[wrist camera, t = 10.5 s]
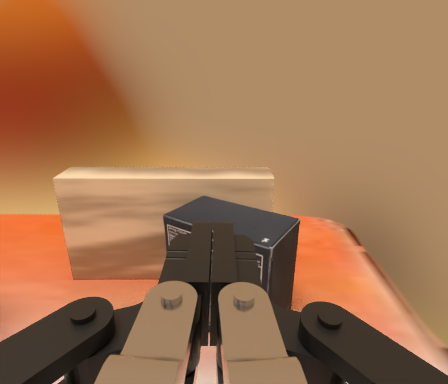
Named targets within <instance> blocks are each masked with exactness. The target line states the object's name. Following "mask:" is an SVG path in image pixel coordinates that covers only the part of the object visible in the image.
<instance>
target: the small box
mask: <svg viewBox="0 0 448 384" xmlns="http://www.w3.org/2000/svg"><path fill="white" fill-rule="evenodd" d="M193 221H206V222H212V252H213V228H214V222H233V230H234V235H247V236H248V237H249V238H250V239H251V240H252V242H253V243H254V247H255V253H256V257H257V262H258V268H259V273H260V278H261V283H262V289H263V290H264V291H265V292H266V293H267V294H268V296H269V299H270V301H272V302H273V303H275V304H276V305H278V306H280V307H283V308H286V309H289V310H291V302H292V292H293V282H294V272H295V262H296V252H297V244H298V233H299V224H300V219H298V218H294V217H290V216H286V215H281V214H277V213H273V212H269V211H265V210H261V209H257V208H253V207H248V206H244V205H240V204H236V203H232V202H228V201H224V200H220V199H216V198H212V197H208V196H201V197H199V198H197V199H195V200H193V201H191V202H189V203H187V204H185V205H183V206H181V207H179V208H177V209H174V210H172V211H170V212H168V213H166V214H164V215H163V222H164V227H165V238H166V252H168V248H169V244H170V241H171V240H172V239H173V238H174V237H175V236H176V235H178V234H191V229H192V223H193ZM166 255H167V253H166ZM211 275H212V258H211ZM210 320H211V285H210V307H209V329H208V331H210Z"/></svg>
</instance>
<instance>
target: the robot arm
mask: <svg viewBox="0 0 448 384" xmlns="http://www.w3.org/2000/svg"><path fill="white" fill-rule="evenodd" d="M211 258H212V275H211ZM210 285H211V320H210V346H217V350H216V380H217V384H347V383H348V384H448V376H447V375H446V374H444V373H443V372H441V371H440V370H438V369H437V368H435V367H434V366H432V365H430V364H429V363H427V362H426V361H424V360H423V359H421V358H420V357H418V356H416V355H415V354H413V353H412V352H410V351H409V350H407V349H406V348H404V347H403V346H401V345H399V344H398V343H396V342H395V341H393V340H392V339H390V338H389V337H387V336H385V335H384V334H382V333H381V332H379V331H378V330H376V329H375V328H373V327H372V326H370V325H368V324H367V323H365V322H364V321H362V320H361V319H359V318H358V317H356V316H354V315H353V314H351V313H350V312H348V311H347V310H345V309H343V308H342V307H340V306H338V305H335V304H332V303H329V302H312V303H309V304H307V305H306V306H305V307H304V308H303V309H302V311H301V312H297V311H293V310H289V309H286V308H283V307H280V306H278V305H276V304H275V303H273V302H272V301H270V299H269V296H268V294H267V293H266V292H265V291H264V290H263V289H262V283H261V278H260V273H259V268H258V262H257V257H256V253H255V247H254V243H253V242H252V240H251V239H250V238H249V237H248V236H247V235H234V230H233V222H214V228H213V252H212V222H206V221H193V223H192V229H191V234H178V235H176V236H175V237H174V238H173V239H172V240H171V241H170V244H169V248H168V252H167V255H166V259H165V262H164V265H163V269H162V272H161V276H160V279H159V282H158V285H156V286H154V287H153V288H152V289H151V290H150V291H149V292H148V293H147V295H146V297H145V299H144V301H143V302H141V303H139V304H137V305H134V306H130V307H126V308H121V309H117V310H113V306H112V304H111V303H110V302H109V301H108V300H106V299H104V298H100V297H87V298H82V299H78V300H76V301H73V302H71V303H69V304H67V305H66V306H64V307H62V308H60V309H59V310H57V311H55V312H53V313H51V314H50V315H48V316H46V317H44V318H42V319H41V320H39V321H37V322H35V323H34V324H32V325H30V326H28V327H26V328H25V329H23V330H21V331H19V332H18V333H16V334H14V335H12V336H10V337H9V338H7V339H5V340H3V341H1V342H0V384H52V383H54V382H55V381H56V380H58V379H59V378H60V377H62V376H63V375H64V379H63V380H62V381H61V382H59V383H58V384H196V378H197V370H198V363H199V359H200V348H201V346H208V329H209V307H210ZM346 382H347V383H346Z"/></svg>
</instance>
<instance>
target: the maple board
mask: <svg viewBox="0 0 448 384" xmlns="http://www.w3.org/2000/svg"><path fill="white" fill-rule="evenodd" d="M274 181H275V179H274V177H273V175H272V173H271V171H270V169H269V167H70V168H69V169H67V170H65V171H64V172H62V173H61V174H59V175H58V176H56V177H54V178H53V182H54V187H55V192H56V197H57V202H58V207H59V211H60V216H61V221H62V226H63V231H64V236H65V241H66V246H67V250H68V255H69V260H70V265H71V270H72V275H73V279H160V276H161V272H162V269H163V265H164V262H165V259H166V253H167V252H166V238H165V227H164V222H163V215H164V214H166V213H168V212H170V211H172V210H174V209H177V208H179V207H181V206H183V205H185V204H187V203H189V202H191V201H193V200H195V199H197V198H199V197H201V196H208V197H212V198H216V199H220V200H224V201H228V202H232V203H236V204H240V205H244V206H248V207H253V208H257V209H261V210H265V211H269V212H272V210H273V196H274V195H273V194H274Z"/></svg>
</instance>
